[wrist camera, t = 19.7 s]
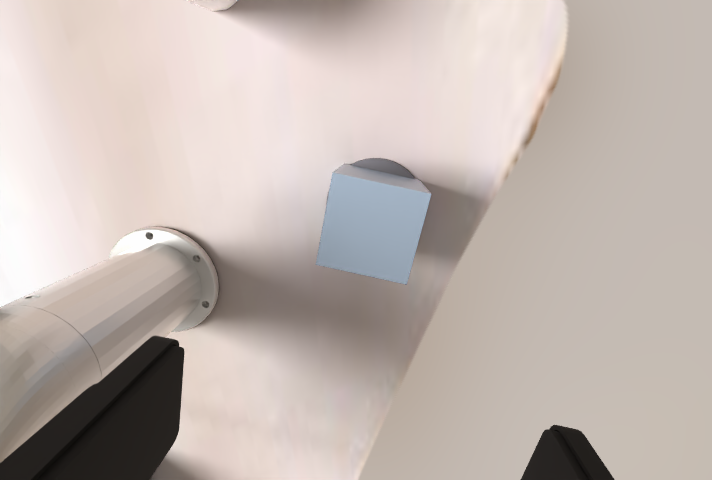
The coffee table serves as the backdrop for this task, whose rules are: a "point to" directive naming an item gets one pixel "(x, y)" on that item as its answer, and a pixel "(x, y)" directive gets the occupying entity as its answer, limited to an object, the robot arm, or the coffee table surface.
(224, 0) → the foam cup
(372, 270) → the blue box
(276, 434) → the coffee table surface
